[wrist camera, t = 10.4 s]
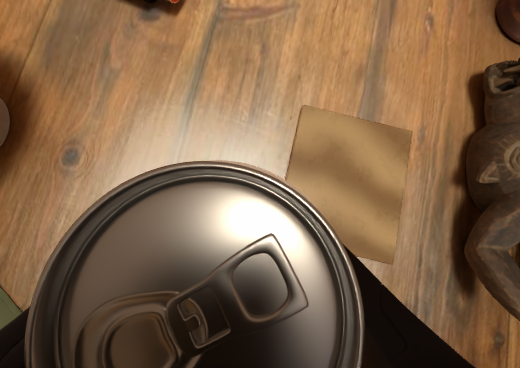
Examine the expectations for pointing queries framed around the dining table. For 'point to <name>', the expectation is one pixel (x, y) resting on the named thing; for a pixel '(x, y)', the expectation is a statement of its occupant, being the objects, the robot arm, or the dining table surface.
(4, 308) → the tote
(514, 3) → the mortar and pestle
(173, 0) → the audio adapter
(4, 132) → the bowl
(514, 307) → the sculpture
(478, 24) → the dining table surface
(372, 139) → the board
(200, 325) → the can
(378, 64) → the dining table surface
